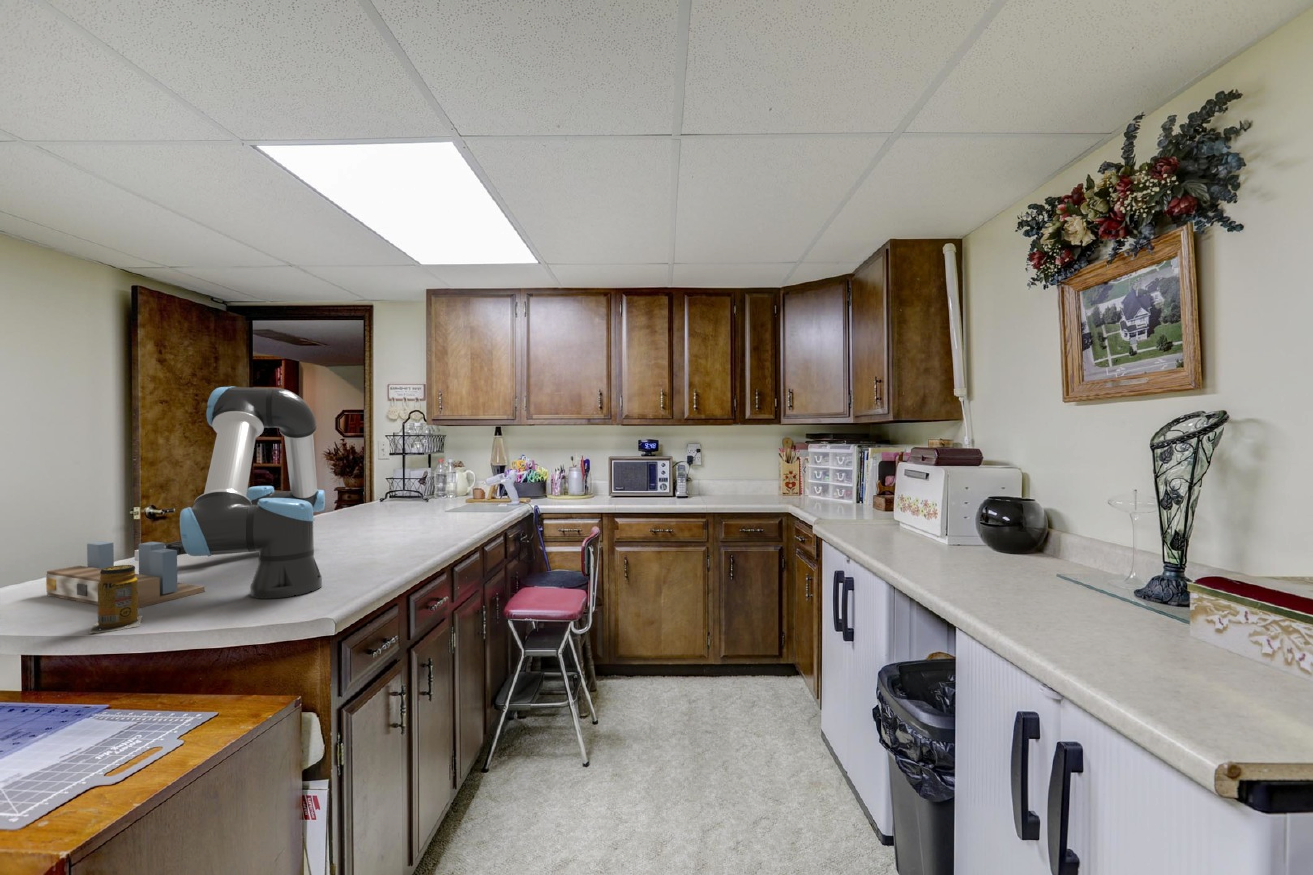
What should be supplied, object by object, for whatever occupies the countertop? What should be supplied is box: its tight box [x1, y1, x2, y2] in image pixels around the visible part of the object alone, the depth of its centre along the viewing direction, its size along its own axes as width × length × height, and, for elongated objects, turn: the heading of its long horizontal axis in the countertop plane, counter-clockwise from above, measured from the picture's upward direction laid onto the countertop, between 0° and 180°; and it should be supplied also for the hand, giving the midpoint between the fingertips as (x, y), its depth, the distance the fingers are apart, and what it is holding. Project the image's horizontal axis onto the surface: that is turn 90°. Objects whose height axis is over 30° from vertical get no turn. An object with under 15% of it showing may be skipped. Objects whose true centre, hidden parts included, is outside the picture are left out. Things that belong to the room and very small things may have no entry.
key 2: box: [149, 549, 178, 594], centre depth 134 cm, size 5×3×10 cm, turn 70°
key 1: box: [86, 541, 115, 569], centre depth 143 cm, size 5×3×10 cm, turn 70°
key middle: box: [138, 541, 166, 576], centre depth 142 cm, size 5×3×10 cm, turn 70°
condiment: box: [88, 564, 143, 635], centre depth 115 cm, size 7×8×12 cm
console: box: [45, 565, 206, 609], centre depth 137 cm, size 33×16×6 cm, turn 70°
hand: (136, 555), depth 150 cm, fingers closed
